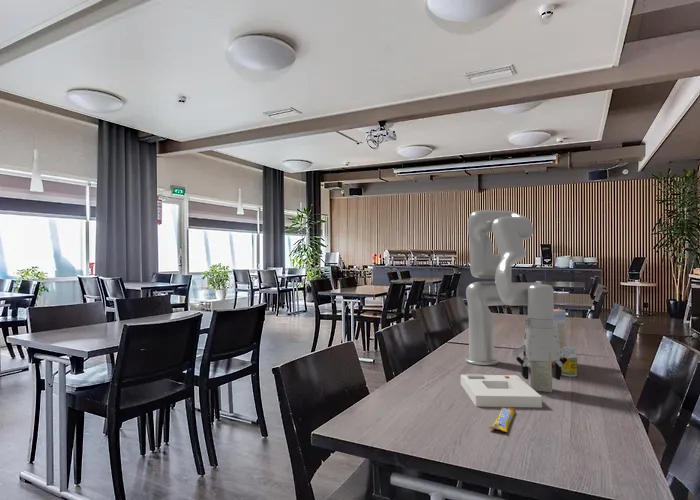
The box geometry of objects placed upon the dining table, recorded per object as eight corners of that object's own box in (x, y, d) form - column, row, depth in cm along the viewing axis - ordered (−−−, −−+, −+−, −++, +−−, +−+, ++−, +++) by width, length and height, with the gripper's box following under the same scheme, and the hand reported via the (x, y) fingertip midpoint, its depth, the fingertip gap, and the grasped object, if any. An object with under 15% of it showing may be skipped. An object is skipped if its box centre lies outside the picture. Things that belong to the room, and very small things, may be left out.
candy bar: (500, 411, 121) (500, 405, 121) (516, 414, 119) (516, 407, 119) (488, 433, 106) (488, 425, 106) (506, 436, 104) (506, 428, 104)
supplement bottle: (565, 372, 160) (565, 345, 160) (580, 375, 156) (580, 348, 156) (557, 374, 157) (556, 347, 157) (571, 377, 153) (571, 349, 153)
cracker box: (554, 360, 178) (553, 308, 178) (567, 363, 173) (566, 309, 173) (528, 364, 172) (528, 310, 172) (541, 367, 167) (541, 311, 167)
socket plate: (460, 383, 146) (460, 372, 146) (516, 384, 145) (516, 373, 145) (475, 406, 124) (475, 393, 124) (542, 407, 123) (541, 394, 123)
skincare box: (552, 388, 140) (552, 350, 140) (552, 392, 136) (551, 352, 136) (530, 386, 143) (530, 348, 143) (530, 390, 139) (529, 351, 139)
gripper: (516, 325, 136) (517, 381, 136) (574, 325, 135) (575, 382, 135) (509, 322, 144) (509, 375, 144) (563, 322, 143) (564, 375, 143)
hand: (541, 378), depth 139 cm, fingers open, 9 cm apart
